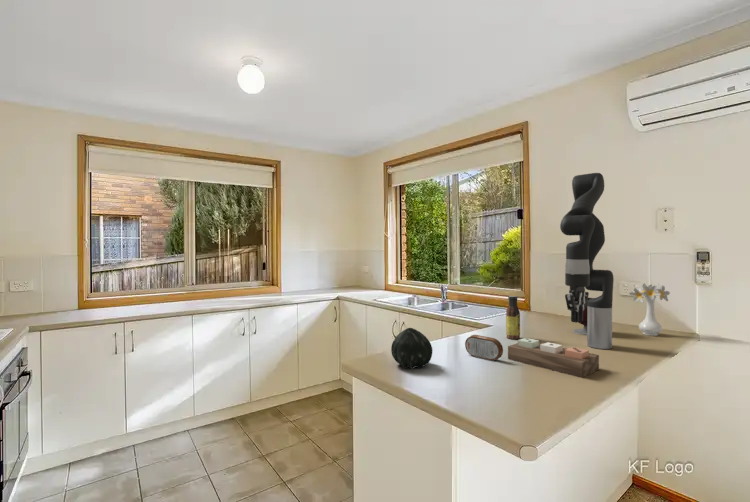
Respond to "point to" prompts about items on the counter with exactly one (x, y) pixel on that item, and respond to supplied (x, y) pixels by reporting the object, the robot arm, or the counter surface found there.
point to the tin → (484, 347)
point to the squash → (411, 349)
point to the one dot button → (551, 347)
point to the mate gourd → (583, 323)
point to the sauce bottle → (513, 319)
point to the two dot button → (528, 343)
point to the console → (554, 360)
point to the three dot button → (577, 353)
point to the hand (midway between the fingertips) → (577, 321)
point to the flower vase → (650, 307)
